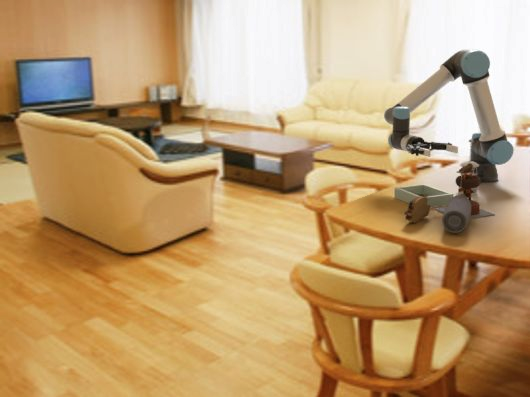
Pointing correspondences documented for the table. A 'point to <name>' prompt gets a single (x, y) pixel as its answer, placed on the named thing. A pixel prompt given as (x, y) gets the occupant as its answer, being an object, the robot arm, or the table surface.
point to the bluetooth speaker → (457, 214)
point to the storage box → (434, 194)
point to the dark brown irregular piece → (468, 186)
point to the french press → (470, 173)
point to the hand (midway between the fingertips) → (443, 151)
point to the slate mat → (481, 214)
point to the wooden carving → (417, 209)
